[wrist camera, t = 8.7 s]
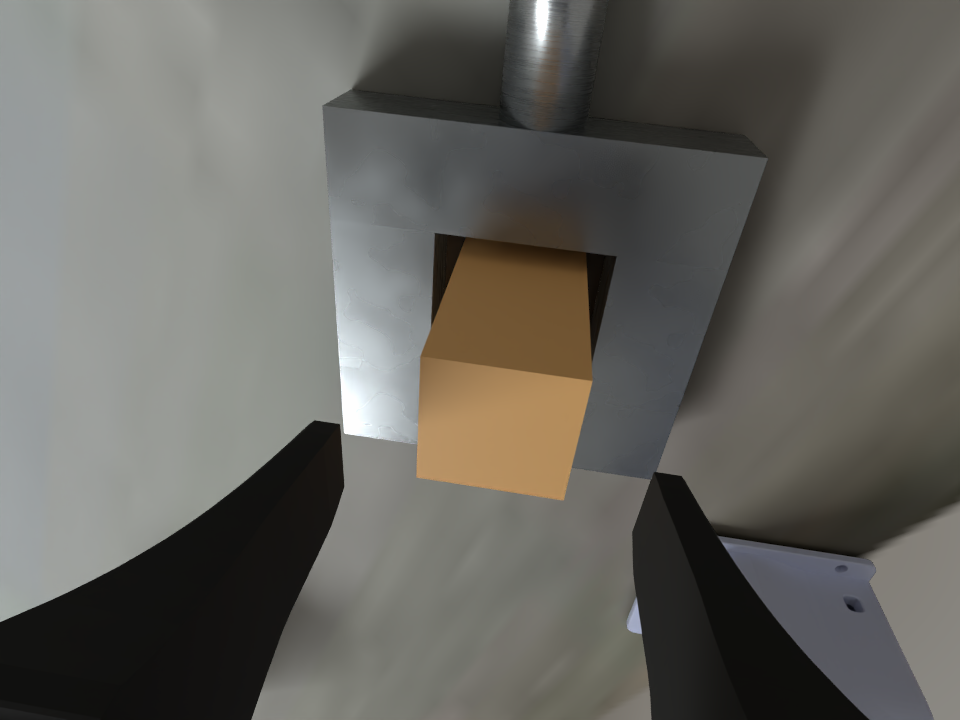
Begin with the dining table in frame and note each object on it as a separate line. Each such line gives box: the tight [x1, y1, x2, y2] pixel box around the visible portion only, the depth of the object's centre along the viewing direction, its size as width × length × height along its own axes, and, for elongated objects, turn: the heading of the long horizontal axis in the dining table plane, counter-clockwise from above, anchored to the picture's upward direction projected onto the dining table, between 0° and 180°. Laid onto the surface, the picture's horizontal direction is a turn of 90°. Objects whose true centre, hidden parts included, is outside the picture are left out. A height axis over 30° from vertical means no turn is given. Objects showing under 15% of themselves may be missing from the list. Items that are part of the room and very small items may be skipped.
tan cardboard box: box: [417, 237, 593, 500], centre depth 18 cm, size 4×4×8 cm
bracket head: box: [323, 0, 768, 480], centre depth 18 cm, size 12×20×2 cm, turn 175°
